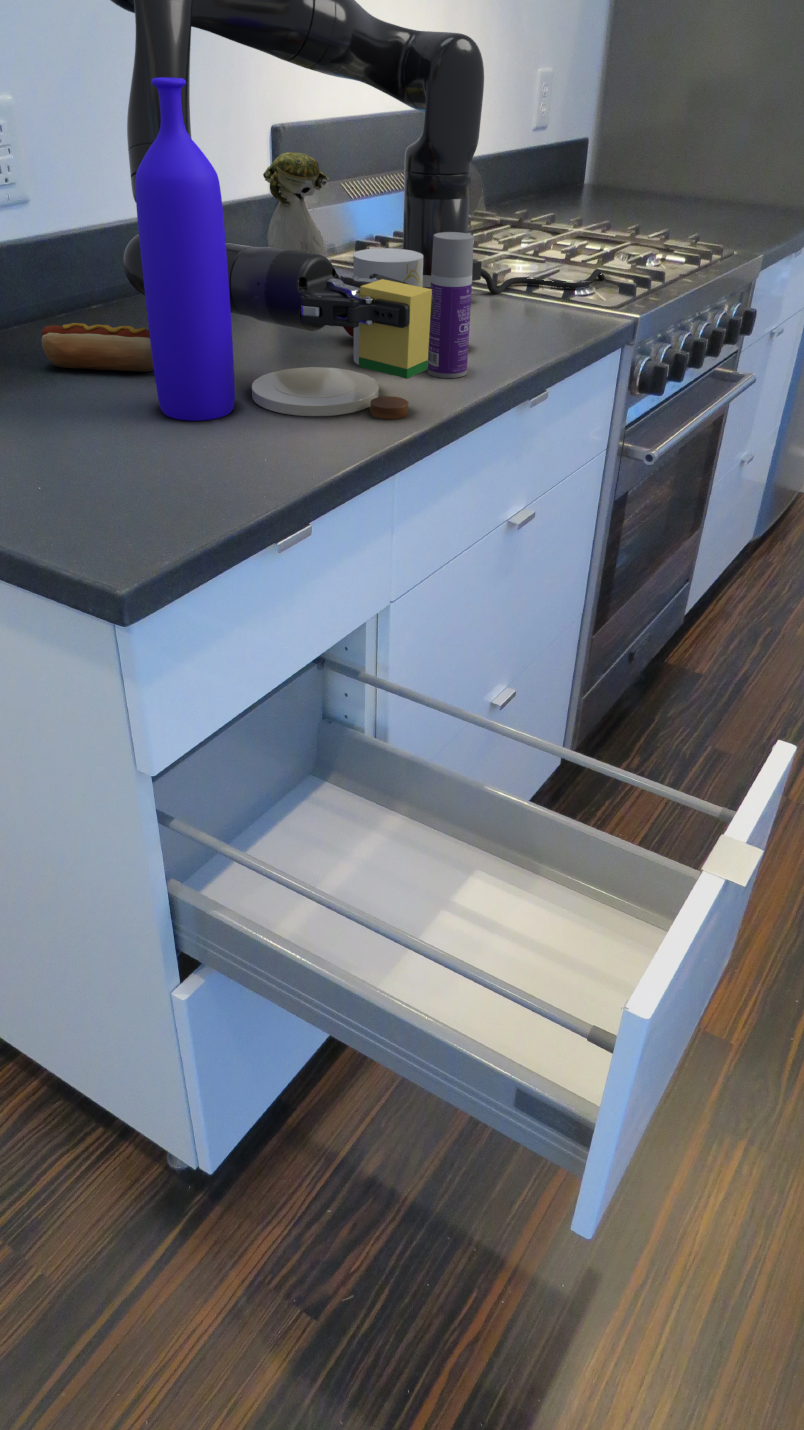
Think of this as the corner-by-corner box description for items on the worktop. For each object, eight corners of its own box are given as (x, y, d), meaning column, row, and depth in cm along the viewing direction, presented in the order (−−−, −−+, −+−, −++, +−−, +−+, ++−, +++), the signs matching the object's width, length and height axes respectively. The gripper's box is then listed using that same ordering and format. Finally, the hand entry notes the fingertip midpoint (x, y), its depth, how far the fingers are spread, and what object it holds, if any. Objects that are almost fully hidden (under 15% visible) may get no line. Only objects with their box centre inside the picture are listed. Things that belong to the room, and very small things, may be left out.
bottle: (253, 409, 110) (234, 79, 93) (191, 427, 105) (159, 82, 88) (203, 392, 114) (176, 74, 97) (141, 409, 109) (102, 76, 92)
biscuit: (391, 404, 112) (391, 393, 112) (415, 414, 110) (415, 403, 109) (362, 411, 110) (362, 400, 109) (386, 421, 108) (386, 410, 107)
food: (171, 365, 123) (166, 321, 120) (157, 378, 118) (152, 333, 115) (57, 359, 124) (50, 315, 121) (39, 372, 119) (32, 327, 116)
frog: (262, 299, 151) (255, 158, 141) (256, 280, 161) (248, 147, 151) (343, 297, 153) (341, 158, 142) (331, 278, 163) (329, 147, 153)
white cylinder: (414, 372, 123) (417, 264, 116) (347, 367, 124) (347, 260, 117) (424, 353, 129) (427, 250, 122) (360, 349, 130) (360, 246, 123)
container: (463, 379, 120) (471, 240, 112) (424, 376, 121) (429, 238, 113) (469, 368, 124) (477, 233, 116) (431, 365, 125) (436, 230, 117)
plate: (332, 370, 122) (332, 360, 122) (404, 401, 113) (404, 390, 113) (228, 390, 115) (228, 379, 115) (296, 425, 106) (295, 413, 105)
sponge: (379, 358, 110) (382, 278, 105) (427, 369, 108) (432, 289, 103) (358, 366, 107) (360, 286, 103) (406, 379, 105) (410, 296, 100)
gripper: (238, 261, 103) (381, 284, 96) (322, 239, 113) (458, 259, 105) (243, 338, 107) (380, 366, 100) (324, 311, 117) (454, 335, 110)
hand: (419, 311), depth 103 cm, fingers closed on sponge, 4 cm apart
